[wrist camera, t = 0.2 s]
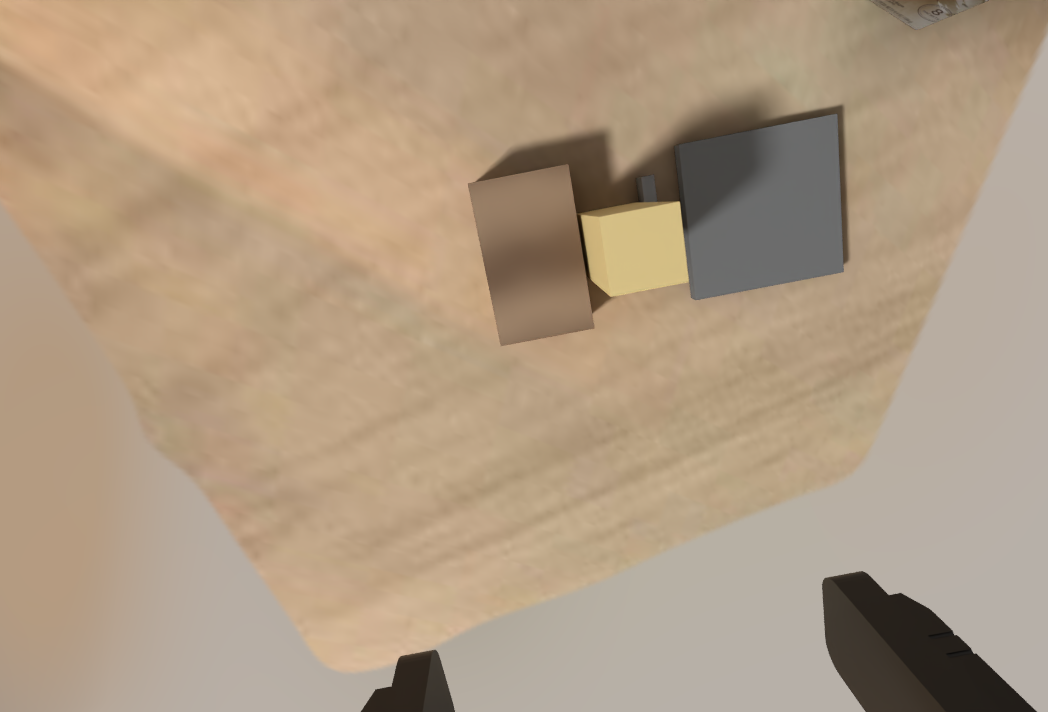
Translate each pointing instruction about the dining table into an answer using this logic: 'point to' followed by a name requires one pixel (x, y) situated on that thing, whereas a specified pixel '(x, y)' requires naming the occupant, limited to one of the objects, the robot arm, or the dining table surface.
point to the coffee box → (925, 10)
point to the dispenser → (535, 252)
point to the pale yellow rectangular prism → (634, 246)
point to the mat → (761, 207)
